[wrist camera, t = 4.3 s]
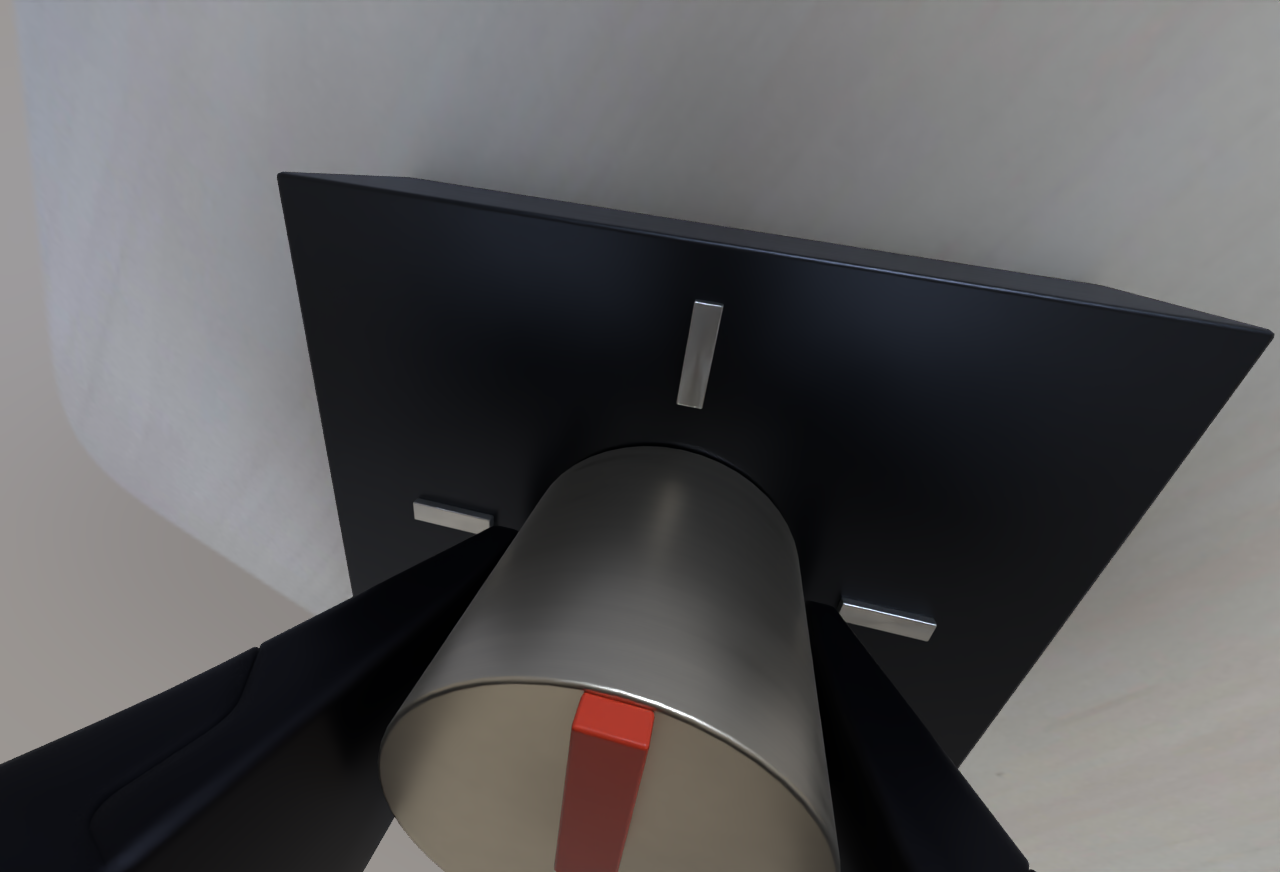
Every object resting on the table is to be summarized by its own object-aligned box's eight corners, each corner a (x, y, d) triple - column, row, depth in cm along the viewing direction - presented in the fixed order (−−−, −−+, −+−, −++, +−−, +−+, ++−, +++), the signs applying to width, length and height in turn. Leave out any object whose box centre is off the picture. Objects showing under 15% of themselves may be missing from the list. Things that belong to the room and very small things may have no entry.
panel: (438, 579, 14) (360, 677, 11) (408, 176, 9) (262, 169, 6) (882, 691, 13) (920, 835, 10) (1104, 285, 8) (1297, 335, 5)
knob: (758, 686, 9) (767, 1049, 5) (526, 625, 9) (378, 915, 6) (838, 481, 7) (943, 829, 3) (537, 417, 7) (318, 651, 4)
